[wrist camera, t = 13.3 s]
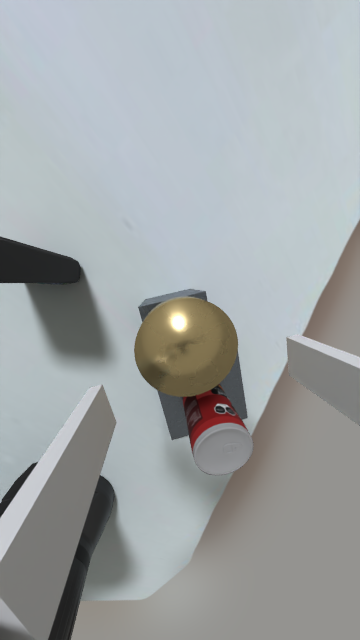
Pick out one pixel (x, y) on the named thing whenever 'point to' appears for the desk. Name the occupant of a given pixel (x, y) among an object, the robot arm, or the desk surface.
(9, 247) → the card reader
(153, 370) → the door knob
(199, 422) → the canned food
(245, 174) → the desk surface
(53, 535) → the robot arm
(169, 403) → the grey stepped stand
